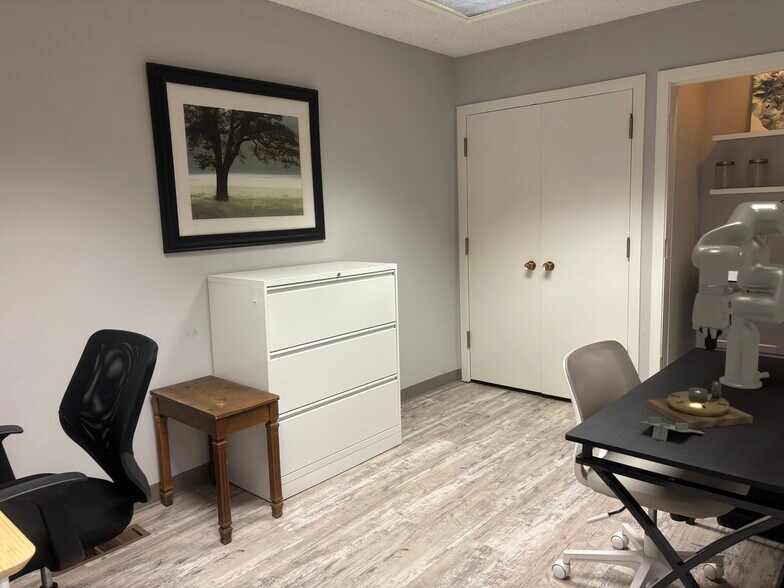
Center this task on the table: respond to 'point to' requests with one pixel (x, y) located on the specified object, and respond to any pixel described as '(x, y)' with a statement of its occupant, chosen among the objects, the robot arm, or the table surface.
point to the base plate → (699, 421)
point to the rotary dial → (700, 401)
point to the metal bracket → (664, 428)
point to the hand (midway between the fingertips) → (710, 350)
